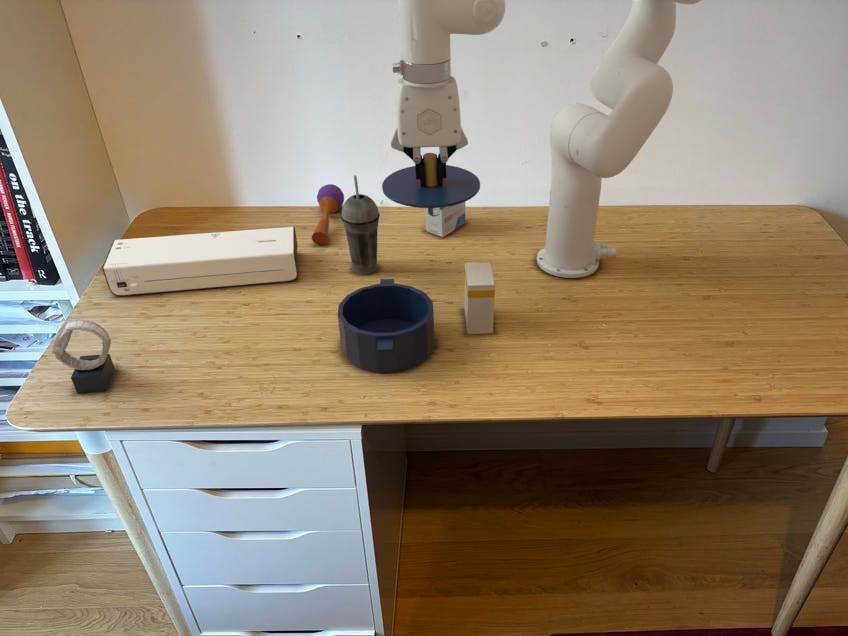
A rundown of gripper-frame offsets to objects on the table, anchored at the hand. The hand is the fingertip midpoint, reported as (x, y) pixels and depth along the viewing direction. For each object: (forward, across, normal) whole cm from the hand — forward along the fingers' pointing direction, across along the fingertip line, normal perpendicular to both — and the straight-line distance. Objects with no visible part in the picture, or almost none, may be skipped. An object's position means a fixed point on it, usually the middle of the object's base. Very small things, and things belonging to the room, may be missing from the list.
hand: (431, 181), depth 121 cm
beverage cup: (+23, -14, +11) cm, 28 cm away
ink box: (+23, +4, +27) cm, 36 cm away
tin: (+22, -9, -16) cm, 29 cm away
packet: (+23, +7, -10) cm, 26 cm away
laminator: (+22, -44, +10) cm, 50 cm away
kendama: (+23, -22, +31) cm, 44 cm away
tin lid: (+1, 0, 0) cm, 1 cm away
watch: (+22, -55, -22) cm, 63 cm away
